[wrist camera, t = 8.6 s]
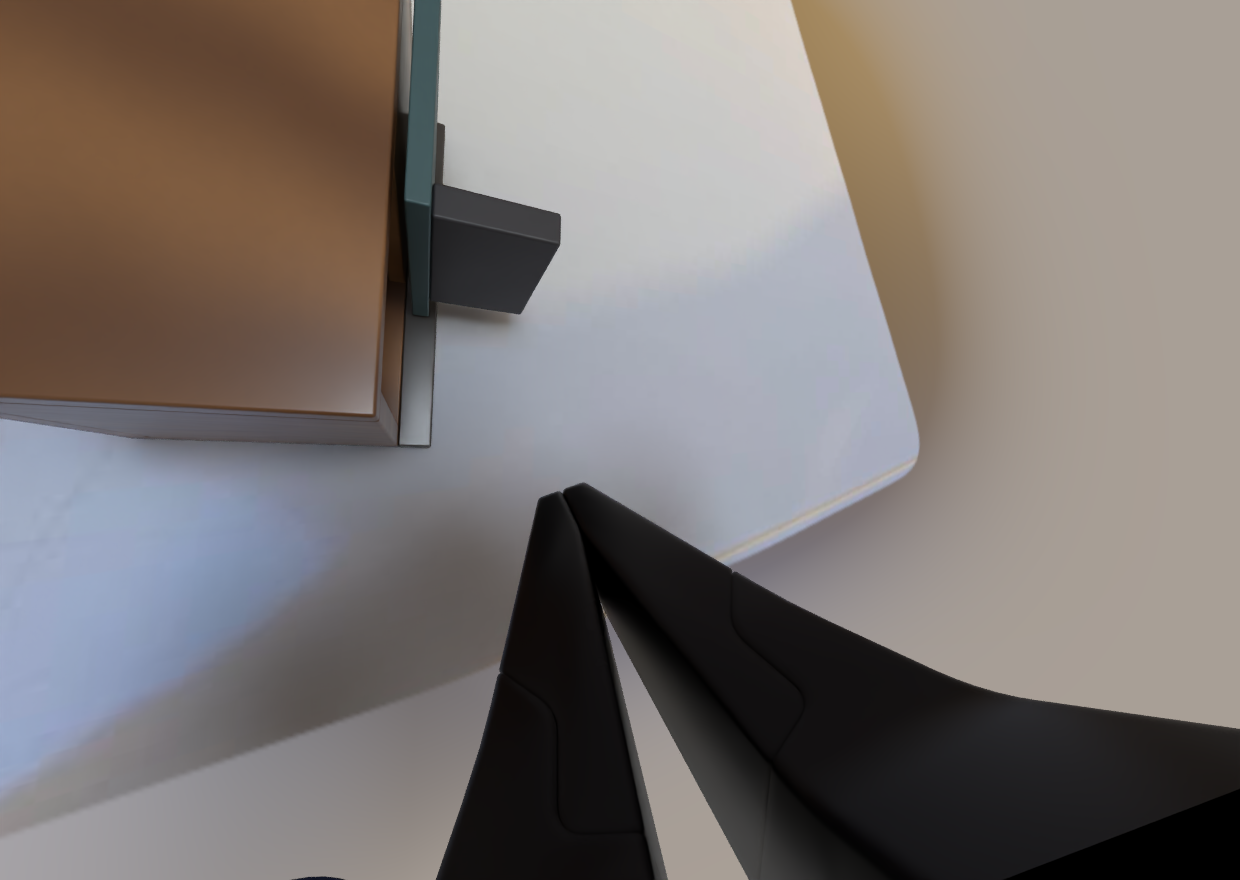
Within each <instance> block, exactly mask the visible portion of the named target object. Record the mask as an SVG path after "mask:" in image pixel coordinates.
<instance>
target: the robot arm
mask: <svg viewBox="0 0 1240 880" xmlns="http://www.w3.org/2000/svg"><path fill="white" fill-rule="evenodd" d="M600 601H601V602H600ZM601 604H602V606H603V608H604V610H605V612H606V614H607V616H608V618H609V620H610V622H611V624H612V626H613V628H614V630H615V632H616V633H617V635H618V637H619V639H620V641H621V643H622V644H623V646H624V648H625V650H626V652H627V654H628V655H629V657H630V659H631V661H632V663H633V665H634V667H635V669H636V670H637V672H638V674H639V676H640V678H641V680H642V682H643V684H644V685H645V687H646V689H647V691H648V693H649V695H650V697H651V698H652V700H653V702H654V704H655V706H656V708H657V710H658V711H659V713H660V715H661V717H662V719H663V721H664V723H665V724H666V726H667V728H668V730H669V732H670V734H671V736H672V738H673V739H674V741H675V743H676V745H677V747H678V749H679V751H680V752H681V754H682V756H683V758H684V760H685V762H686V764H687V765H688V767H689V769H690V771H691V773H692V775H693V776H694V778H695V780H696V782H697V784H698V786H699V788H700V790H701V791H702V793H703V795H704V797H705V799H706V801H707V803H708V805H709V806H710V808H711V810H712V812H713V814H714V815H715V818H716V819H717V821H718V823H719V825H720V827H721V829H722V830H723V832H724V834H725V836H726V838H727V840H728V842H729V844H730V845H731V847H732V849H733V851H734V853H735V855H736V856H737V858H738V860H739V862H740V864H741V866H742V868H743V870H744V871H745V873H746V875H747V877H748V879H749V880H1240V729H1236V728H1229V727H1222V726H1214V725H1208V724H1201V723H1193V722H1187V721H1180V720H1173V719H1165V718H1158V717H1151V716H1144V715H1137V714H1130V713H1123V712H1116V711H1109V710H1101V709H1095V708H1087V707H1080V706H1073V705H1067V704H1059V703H1053V702H1045V701H1038V700H1032V699H1026V698H1019V697H1015V696H1010V695H1006V694H1002V693H998V692H994V691H991V690H987V689H984V688H981V687H977V686H974V685H971V684H968V683H966V682H963V681H960V680H957V679H955V678H952V677H950V676H947V675H945V674H942V673H940V672H938V671H935V670H933V669H931V668H929V667H927V666H925V665H923V664H920V663H918V662H916V661H914V660H912V659H910V658H907V657H905V656H903V655H901V654H899V653H897V652H894V651H892V650H890V649H888V648H886V647H884V646H881V645H879V644H877V643H875V642H873V641H871V640H868V639H866V638H864V637H862V636H860V635H858V634H855V633H853V632H851V631H849V630H847V629H844V628H843V627H840V626H838V625H836V624H834V623H832V622H829V621H828V620H826V619H823V618H821V617H819V616H817V615H815V614H813V613H811V612H809V611H807V610H805V609H803V608H801V607H799V606H797V605H795V604H793V603H791V602H789V601H787V600H785V599H784V598H781V597H780V596H778V595H776V594H774V593H773V592H771V591H769V590H767V589H765V588H764V587H762V586H760V585H758V584H756V583H755V582H753V581H751V580H750V579H748V578H746V577H744V576H743V575H741V574H739V573H738V572H733V573H732V570H731V568H729V567H727V566H726V565H724V564H722V563H720V562H719V561H717V560H715V559H714V558H712V557H710V556H709V555H707V554H705V553H704V552H702V551H700V550H698V549H697V548H695V547H693V546H692V545H690V544H688V543H687V542H685V541H683V540H681V539H680V538H678V537H676V536H675V535H673V534H671V533H670V532H668V531H666V530H664V529H663V528H661V527H659V526H658V525H656V524H654V523H653V522H651V521H649V520H648V519H646V518H644V517H642V516H641V515H639V514H637V513H636V512H634V511H632V510H631V509H629V508H627V507H625V506H624V505H622V504H620V503H619V502H617V501H615V500H614V499H612V498H610V497H608V496H607V495H605V494H603V493H602V492H600V491H598V490H597V489H595V488H593V487H591V486H590V485H588V484H586V483H580V484H577V485H574V486H571V487H568V488H566V489H564V490H563V493H562V492H560V491H557V492H554V493H551V494H549V495H546V496H543V497H541V498H539V500H538V503H537V507H536V511H535V516H534V520H533V525H532V529H531V533H530V538H529V542H528V546H527V551H526V555H525V560H524V564H523V568H522V573H521V577H520V581H519V586H518V590H517V594H516V599H515V603H514V608H513V612H512V616H511V621H510V625H509V629H508V634H507V638H506V643H505V647H504V651H503V656H502V660H501V664H500V674H499V675H498V677H497V681H496V685H495V689H494V694H493V698H492V703H491V707H490V710H489V714H488V718H487V722H486V726H485V729H484V733H483V737H482V741H481V745H480V749H479V752H478V755H477V758H476V761H475V764H474V767H473V771H472V774H471V777H470V780H469V783H468V786H467V790H466V793H465V796H464V799H463V802H462V805H461V808H460V811H459V814H458V817H457V820H456V822H455V825H454V828H453V831H452V834H451V837H450V840H449V843H448V846H447V849H446V852H445V854H444V858H443V860H442V863H441V866H440V869H439V872H438V875H437V878H436V880H668V878H667V874H666V870H665V866H664V862H663V857H662V854H661V849H660V845H659V841H658V837H657V832H656V828H655V824H654V820H653V816H652V812H651V808H650V804H649V799H648V795H647V791H646V787H645V783H644V778H643V774H642V770H641V766H640V762H639V758H638V753H637V750H636V745H635V741H634V737H633V733H632V729H631V724H630V720H629V716H628V712H627V708H626V704H625V699H624V696H623V691H622V687H621V683H620V679H619V675H618V671H617V666H616V662H615V658H614V654H613V650H612V646H611V641H610V637H609V633H608V629H607V625H606V621H605V617H604V613H603V610H602V606H601Z"/></svg>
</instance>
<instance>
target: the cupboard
mask: <svg viewBox="0 0 1240 880" xmlns="http://www.w3.org/2000/svg"><path fill="white" fill-rule="evenodd" d="M411 56H412V11H411V0H0V418H1V419H8V420H14V421H21V422H28V423H35V424H41V425H48V426H55V427H61V428H68V429H75V430H82V431H88V432H95V433H102V434H109V435H115V436H120V437H127V438H141V439H172V440H204V441H235V442H266V443H297V444H328V445H360V446H391V447H397V446H400V447H423V448H429V447H430V446H431V429H432V407H433V385H434V362H435V340H436V317H437V302H435V301H431V300H430V299H429V316H420V315H414V314H413V313H412V302H411V288H410V275H409V261H408V248H407V235H406V221H405V208H404V187H405V169H406V150H407V131H408V112H409V93H410V74H411ZM444 138H445V126H444V125H443V124H440V123H437V142H436V167H435V183H438V184H442V183H443V161H444Z"/></svg>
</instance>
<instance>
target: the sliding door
mask: <svg viewBox="0 0 1240 880" xmlns="http://www.w3.org/2000/svg"><path fill="white" fill-rule="evenodd" d="M440 24H441V0H414V18H413V37H412V56H411V74H410V93H409V112H408V131H407V150H406V169H405V187H404V208H405V221H406V235H407V248H408V261H409V275H410V288H411V302H412V313H413V314H414V315H420V316H429V299H430V300H431V301H435V302H442V303H448V304H455V305H461V306H468V307H474V308H481V309H487V310H494V311H500V312H507V313H514V314H521V312H522V311H523V309H524V307H525V305H526V304H527V302H528V300H529V298H530V297H531V295H532V293H533V291H534V290H535V288H536V286H537V284H538V283H539V281H540V279H541V277H542V276H543V274H544V272H545V270H546V269H547V267H548V265H549V263H550V262H551V260H552V258H553V256H554V255H555V253H556V251H557V249H558V248H559V246H560V236H561V216H560V214H558V213H554V212H550V211H546V210H542V209H538V208H534V207H530V206H526V205H522V204H518V203H514V202H510V201H506V200H502V199H498V198H494V197H490V196H486V195H482V194H478V193H474V192H470V191H466V190H462V189H458V188H454V187H450V186H446V185H442V184H438V183H435V167H436V142H437V112H438V83H439V53H440Z"/></svg>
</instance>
